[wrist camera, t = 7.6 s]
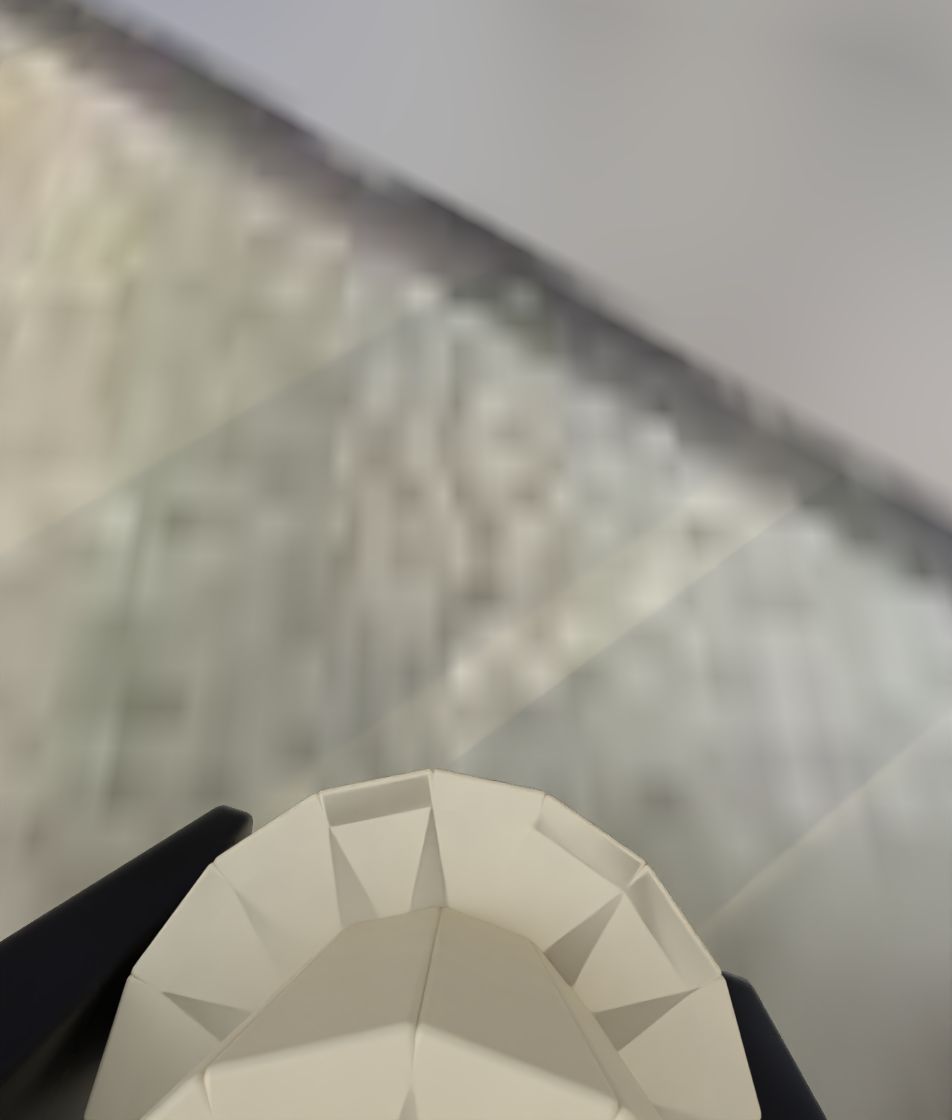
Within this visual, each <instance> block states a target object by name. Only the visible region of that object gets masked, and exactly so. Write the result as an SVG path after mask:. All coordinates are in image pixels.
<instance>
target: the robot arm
mask: <svg viewBox="0 0 952 1120" xmlns="http://www.w3.org/2000/svg"><path fill="white" fill-rule="evenodd" d="M252 825H253V820H252V816H251V815H250V814H249V813H247V812H244V811H241V810H238V809H235V808H232V807H229V806H224V805H223V806H219V807H216V808H214V809H213V810H211V811H209V812H208V813H206V814H205V815H203V816H201V817H200V818H198V819H197V820H195V821H193V822H192V823H190V824H189V825H187V826H185V827H184V828H182V829H181V830H179V831H177V832H176V833H174V834H173V835H171V836H169V837H168V838H166V839H165V840H163V841H161V842H160V843H158V844H157V845H155V846H153V847H152V848H150V849H149V850H147V851H145V852H144V853H142V854H140V855H139V856H137V857H136V858H134V859H132V860H131V861H129V862H128V863H126V864H124V865H123V866H121V867H120V868H118V869H116V870H115V871H113V872H112V873H110V874H108V875H107V876H105V877H104V878H102V879H100V880H99V881H97V882H96V883H94V884H92V885H91V886H89V887H88V888H86V889H84V890H83V891H81V892H80V893H78V894H76V895H75V896H73V897H72V898H70V899H68V900H67V901H65V902H63V903H62V904H60V905H59V906H57V907H55V908H54V909H52V910H51V911H49V912H47V913H46V914H44V915H43V916H41V917H39V918H38V919H36V920H35V921H33V922H31V923H30V924H28V925H27V926H25V927H23V928H22V929H20V930H19V931H17V932H15V933H14V934H12V935H11V936H9V937H7V938H6V939H4V940H3V941H1V942H0V1120H84V1113H85V1110H86V1107H87V1103H88V1100H89V1097H90V1094H91V1091H92V1088H93V1085H94V1081H95V1078H96V1075H97V1072H98V1069H99V1066H100V1062H101V1059H102V1056H103V1053H104V1050H105V1047H106V1044H107V1040H108V1037H109V1034H110V1031H111V1028H112V1025H113V1021H114V1018H115V1015H116V1012H117V1009H118V1006H119V1003H120V999H121V996H122V993H123V990H124V987H125V984H126V980H127V978H128V977H129V976H130V975H132V974H131V972H132V969H133V967H134V966H135V964H136V963H137V961H138V960H139V959H140V957H141V956H142V955H143V953H144V952H145V951H146V949H147V948H148V947H149V945H150V944H151V942H152V941H153V940H154V938H155V937H156V936H157V934H158V933H159V932H160V930H161V929H162V928H163V926H164V925H165V923H166V922H167V921H168V919H169V918H170V917H171V915H172V914H173V913H174V911H175V910H176V909H177V907H178V906H179V904H180V903H181V902H182V900H183V899H184V898H185V896H186V895H187V894H188V892H189V891H190V890H191V888H192V887H193V885H194V884H195V883H196V881H197V880H198V879H199V877H200V876H201V875H202V873H203V872H204V871H205V869H206V868H207V866H208V865H209V864H211V863H213V862H214V860H215V859H216V858H217V857H218V856H219V855H221V854H222V853H224V852H225V851H227V850H228V849H230V848H231V847H233V846H234V845H236V844H237V843H239V842H240V841H242V840H243V839H245V838H246V837H248V836H250V835H251V833H252ZM721 973H722V974H721V975H722V976H723V977H724V978H725V980H726V984H727V987H728V991H729V995H730V999H731V1002H732V1006H733V1010H734V1013H735V1017H736V1021H737V1025H738V1028H739V1032H740V1036H741V1040H742V1043H743V1047H744V1051H745V1055H746V1058H747V1062H748V1066H749V1069H750V1073H751V1077H752V1081H753V1084H754V1088H755V1092H756V1096H757V1099H758V1103H759V1107H760V1110H761V1119H760V1120H827V1119H826V1117H825V1115H824V1113H823V1112H822V1110H821V1108H820V1106H819V1104H818V1103H817V1101H816V1099H815V1097H814V1095H813V1094H812V1092H811V1090H810V1088H809V1086H808V1085H807V1083H806V1081H805V1079H804V1077H803V1076H802V1074H801V1072H800V1070H799V1068H798V1067H797V1065H796V1063H795V1061H794V1059H793V1058H792V1056H791V1054H790V1052H789V1050H788V1049H787V1047H786V1045H785V1043H784V1041H783V1040H782V1038H781V1036H780V1034H779V1032H778V1031H777V1029H776V1027H775V1025H774V1023H773V1022H772V1020H771V1018H770V1016H769V1014H768V1013H767V1011H766V1009H765V1007H764V1005H763V1004H762V1002H761V1000H760V998H759V996H758V995H757V993H756V991H755V989H754V988H753V986H752V985H751V984H750V983H749V981H747V980H746V979H744V978H742V977H739V976H736V975H733V974H730V973H727V972H724V971H721Z"/></svg>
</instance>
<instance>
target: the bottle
mask: <svg viewBox="0 0 952 1120" xmlns="http://www.w3.org/2000/svg"><path fill="white" fill-rule="evenodd" d="M131 974H132V975H130V976H129V977H128V978H127V980H126V984H125V987H124V990H123V993H122V996H121V999H120V1003H119V1006H118V1009H117V1012H116V1015H115V1018H114V1021H113V1025H112V1028H111V1031H110V1034H109V1037H108V1040H107V1044H106V1047H105V1050H104V1053H103V1056H102V1059H101V1062H100V1066H99V1069H98V1072H97V1075H96V1078H95V1081H94V1085H93V1088H92V1091H91V1094H90V1097H89V1100H88V1103H87V1107H86V1110H85V1113H84V1120H760V1119H761V1110H760V1107H759V1103H758V1099H757V1096H756V1092H755V1088H754V1084H753V1081H752V1077H751V1073H750V1069H749V1066H748V1062H747V1058H746V1055H745V1051H744V1047H743V1043H742V1040H741V1036H740V1032H739V1028H738V1025H737V1021H736V1017H735V1013H734V1010H733V1006H732V1002H731V999H730V995H729V991H728V987H727V984H726V980H725V978H724V977H723V976H722V975H721V974H722V973H721V969H720V967H719V966H718V964H717V963H716V962H715V960H714V959H713V957H712V956H711V954H710V953H709V951H708V950H707V948H706V947H705V945H704V944H703V942H702V941H701V940H700V938H699V937H698V935H697V934H696V932H695V931H694V929H693V928H692V926H691V925H690V923H689V922H688V920H687V919H686V918H685V916H684V915H683V913H682V912H681V910H680V909H679V907H678V906H677V904H676V903H675V901H674V900H673V898H672V897H671V896H670V894H669V893H668V891H667V890H666V888H665V887H664V885H663V884H662V882H661V881H660V879H659V878H658V876H657V875H656V873H655V872H654V871H653V869H652V868H651V866H649V865H648V864H645V861H644V860H643V858H641V857H640V856H638V855H637V854H635V853H634V852H633V851H631V850H630V849H628V848H627V847H625V846H624V845H622V844H621V843H620V842H618V841H617V840H615V839H614V838H612V837H611V836H610V835H608V834H607V833H605V832H604V831H602V830H601V829H599V828H598V827H597V826H595V825H594V824H592V823H591V822H589V821H588V820H586V819H585V818H584V817H582V816H581V815H579V814H578V813H576V812H575V811H573V810H572V809H571V808H569V807H568V806H566V805H565V804H563V803H562V802H561V801H559V800H558V799H556V798H555V797H553V796H552V795H549V794H545V793H544V792H543V791H541V790H536V789H531V788H527V787H522V786H517V785H512V784H508V783H503V782H498V781H494V780H489V779H484V778H480V777H475V776H470V775H465V774H461V773H456V772H451V771H447V770H442V769H434V770H433V771H432V769H423V770H418V771H413V772H408V773H403V774H398V775H393V776H388V777H383V778H378V779H373V780H368V781H363V782H358V783H353V784H348V785H343V786H338V787H333V788H328V789H323V790H321V791H320V792H319V793H314V794H312V795H310V796H309V797H307V798H306V799H304V800H303V801H301V802H300V803H298V804H297V805H295V806H293V807H292V808H290V809H289V810H287V811H286V812H284V813H283V814H281V815H280V816H278V817H277V818H275V819H274V820H272V821H271V822H269V823H268V824H266V825H265V826H263V827H262V828H260V829H259V830H257V831H256V832H254V833H253V834H251V835H250V836H248V837H246V838H245V839H243V840H242V841H240V842H239V843H237V844H236V845H234V846H233V847H231V848H230V849H228V850H227V851H225V852H224V853H222V854H221V855H219V856H218V857H217V858H216V859H215V860H214V862H213V863H211V864H209V865H208V866H207V868H206V869H205V871H204V872H203V873H202V875H201V876H200V877H199V879H198V880H197V881H196V883H195V884H194V885H193V887H192V888H191V890H190V891H189V892H188V894H187V895H186V896H185V898H184V899H183V900H182V902H181V903H180V904H179V906H178V907H177V909H176V910H175V911H174V913H173V914H172V915H171V917H170V918H169V919H168V921H167V922H166V923H165V925H164V926H163V928H162V929H161V930H160V932H159V933H158V934H157V936H156V937H155V938H154V940H153V941H152V942H151V944H150V945H149V947H148V948H147V949H146V951H145V952H144V953H143V955H142V956H141V957H140V959H139V960H138V961H137V963H136V964H135V966H134V967H133V969H132V972H131Z"/></svg>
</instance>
